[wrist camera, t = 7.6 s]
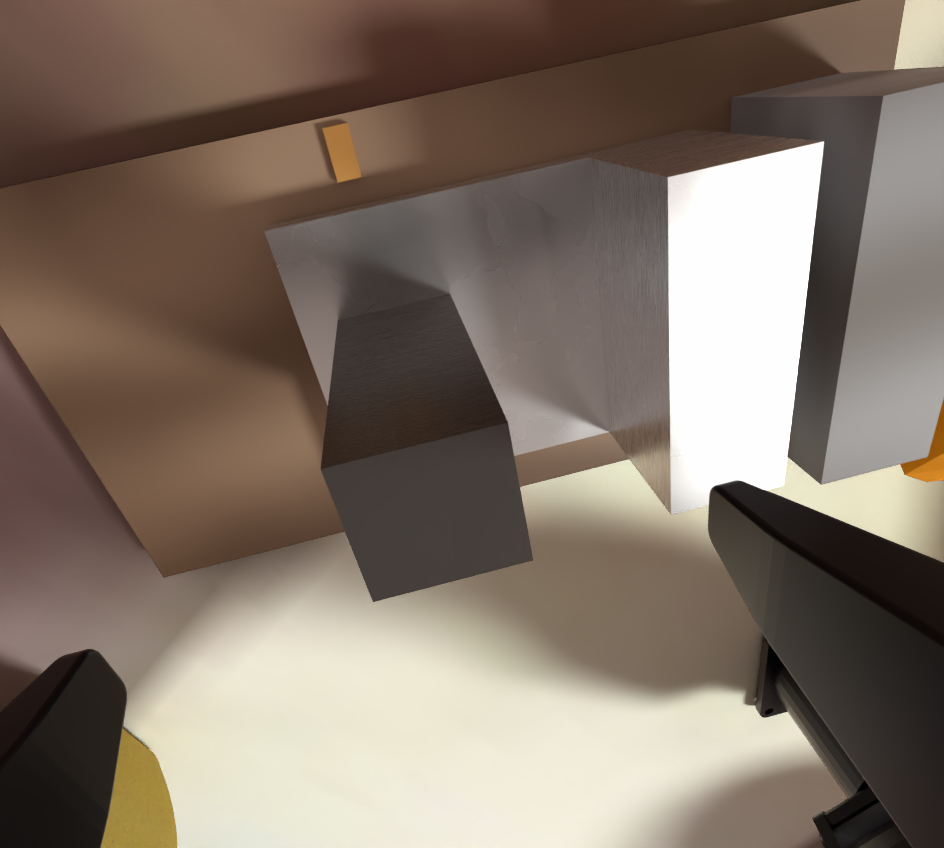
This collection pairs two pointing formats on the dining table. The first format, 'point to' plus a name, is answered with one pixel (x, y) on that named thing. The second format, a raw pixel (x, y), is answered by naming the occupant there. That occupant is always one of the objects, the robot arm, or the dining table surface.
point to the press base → (437, 164)
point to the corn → (930, 457)
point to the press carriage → (552, 337)
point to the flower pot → (139, 801)
